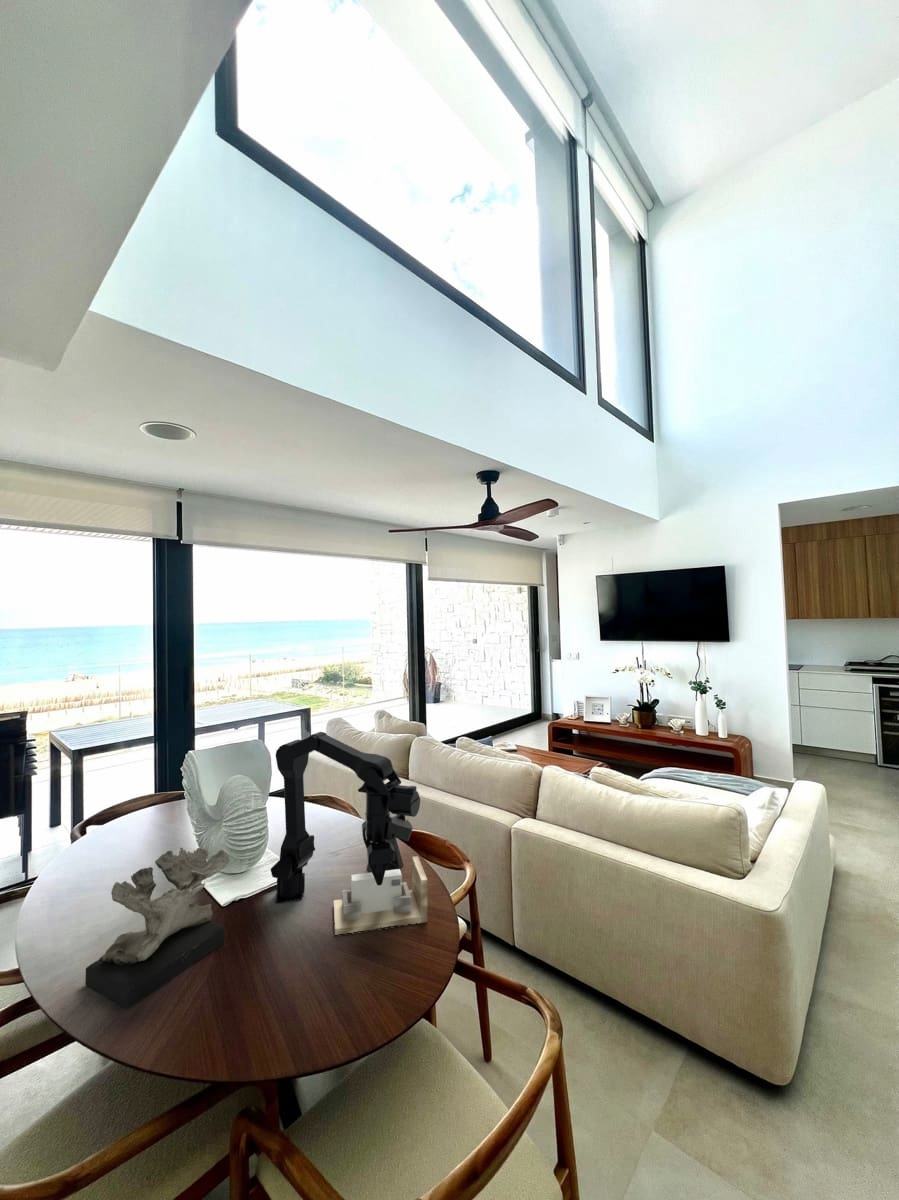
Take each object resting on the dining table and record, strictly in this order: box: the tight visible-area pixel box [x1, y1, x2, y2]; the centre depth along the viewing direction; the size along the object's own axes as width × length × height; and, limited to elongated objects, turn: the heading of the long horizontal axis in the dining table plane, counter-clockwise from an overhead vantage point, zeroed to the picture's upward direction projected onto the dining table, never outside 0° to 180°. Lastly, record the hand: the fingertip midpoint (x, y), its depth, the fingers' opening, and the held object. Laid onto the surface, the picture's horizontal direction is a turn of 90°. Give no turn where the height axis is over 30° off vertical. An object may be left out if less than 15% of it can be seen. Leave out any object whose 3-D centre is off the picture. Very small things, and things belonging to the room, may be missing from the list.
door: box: [350, 868, 403, 914], centre depth 122 cm, size 12×4×8 cm, turn 105°
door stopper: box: [366, 836, 405, 873], centre depth 145 cm, size 9×6×12 cm, turn 137°
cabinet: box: [333, 855, 428, 936], centre depth 123 cm, size 22×12×10 cm, turn 105°
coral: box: [84, 847, 230, 1010], centre depth 105 cm, size 25×20×22 cm
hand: (377, 875), depth 122 cm, fingers open, 9 cm apart
